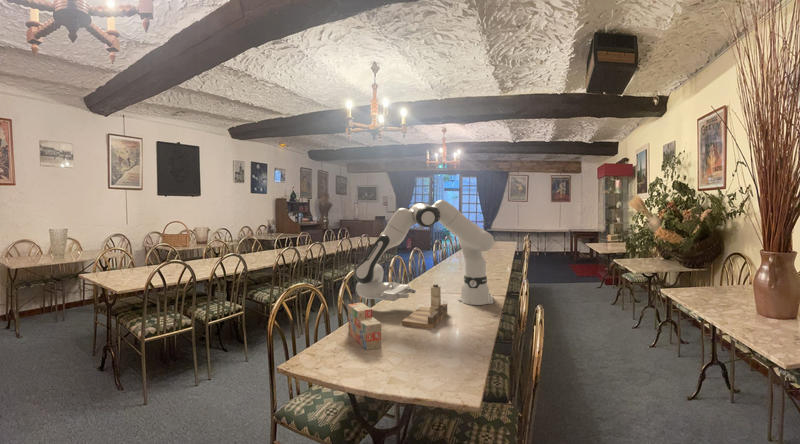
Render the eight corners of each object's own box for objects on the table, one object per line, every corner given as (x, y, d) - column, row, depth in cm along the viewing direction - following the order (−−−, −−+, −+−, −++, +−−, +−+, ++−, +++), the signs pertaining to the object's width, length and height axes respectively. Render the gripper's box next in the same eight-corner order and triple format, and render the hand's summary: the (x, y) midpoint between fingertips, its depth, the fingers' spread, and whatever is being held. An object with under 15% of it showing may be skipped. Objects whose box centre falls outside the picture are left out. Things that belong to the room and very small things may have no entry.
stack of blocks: (381, 347, 139) (381, 315, 138) (366, 350, 136) (365, 317, 135) (362, 330, 158) (361, 301, 157) (348, 332, 155) (347, 303, 154)
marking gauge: (434, 309, 180) (434, 283, 180) (442, 309, 179) (442, 283, 178) (429, 312, 174) (429, 285, 173) (438, 313, 172) (437, 286, 172)
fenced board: (420, 311, 184) (419, 301, 184) (447, 314, 178) (447, 303, 178) (401, 325, 163) (401, 314, 163) (432, 329, 157) (432, 317, 157)
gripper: (376, 289, 176) (403, 292, 171) (394, 281, 195) (419, 283, 189) (377, 302, 177) (403, 305, 171) (394, 293, 195) (419, 295, 190)
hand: (412, 293), depth 180 cm, fingers open, 8 cm apart
